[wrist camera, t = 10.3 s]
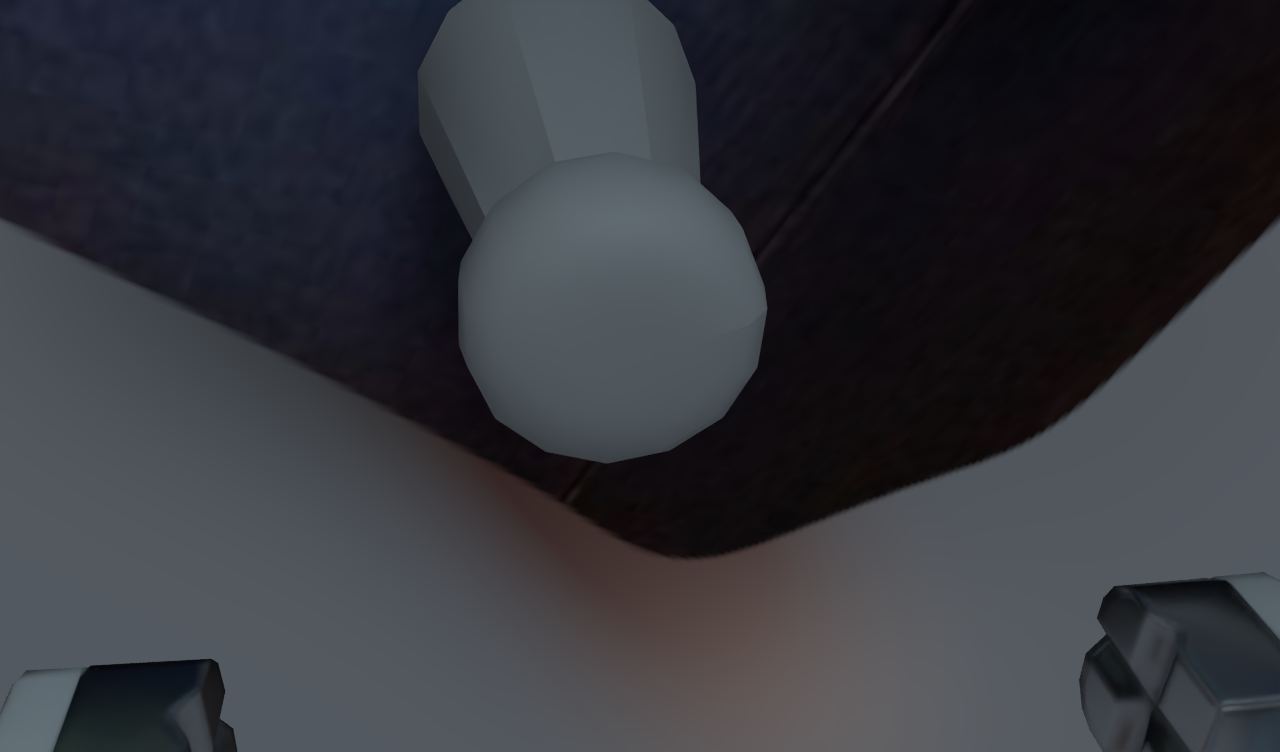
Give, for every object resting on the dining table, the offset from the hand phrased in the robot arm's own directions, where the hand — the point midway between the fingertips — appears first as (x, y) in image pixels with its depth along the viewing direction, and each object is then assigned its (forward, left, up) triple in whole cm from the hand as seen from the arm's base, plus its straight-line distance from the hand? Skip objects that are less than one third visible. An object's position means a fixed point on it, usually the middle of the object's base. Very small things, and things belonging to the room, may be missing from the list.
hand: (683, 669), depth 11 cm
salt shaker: (0, 0, -19) cm, 19 cm away
